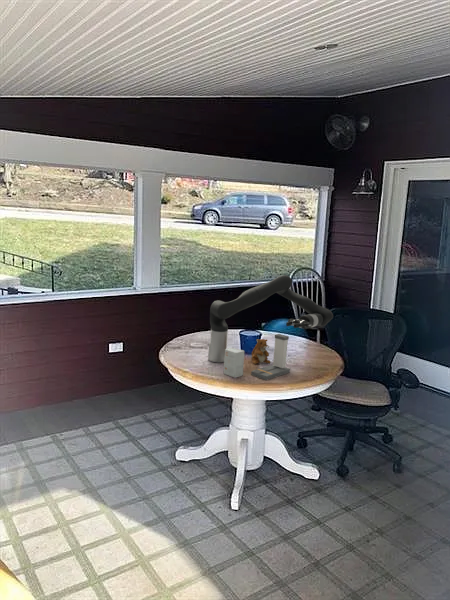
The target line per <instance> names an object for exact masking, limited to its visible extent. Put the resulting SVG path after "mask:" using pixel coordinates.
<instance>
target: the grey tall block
mask: <svg viewBox="0 0 450 600" xmlns="http://www.w3.org/2000/svg"><path fill="white" fill-rule="evenodd" d="M289 338H290V337H289V335H285V334H280V333H277V334H274V348H273V359H272V360H273V362H272V365H273V366H276V367H279V368H285V367H287V366H286V365H287V355H288V354H287V353H288V341H289Z"/></svg>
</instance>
